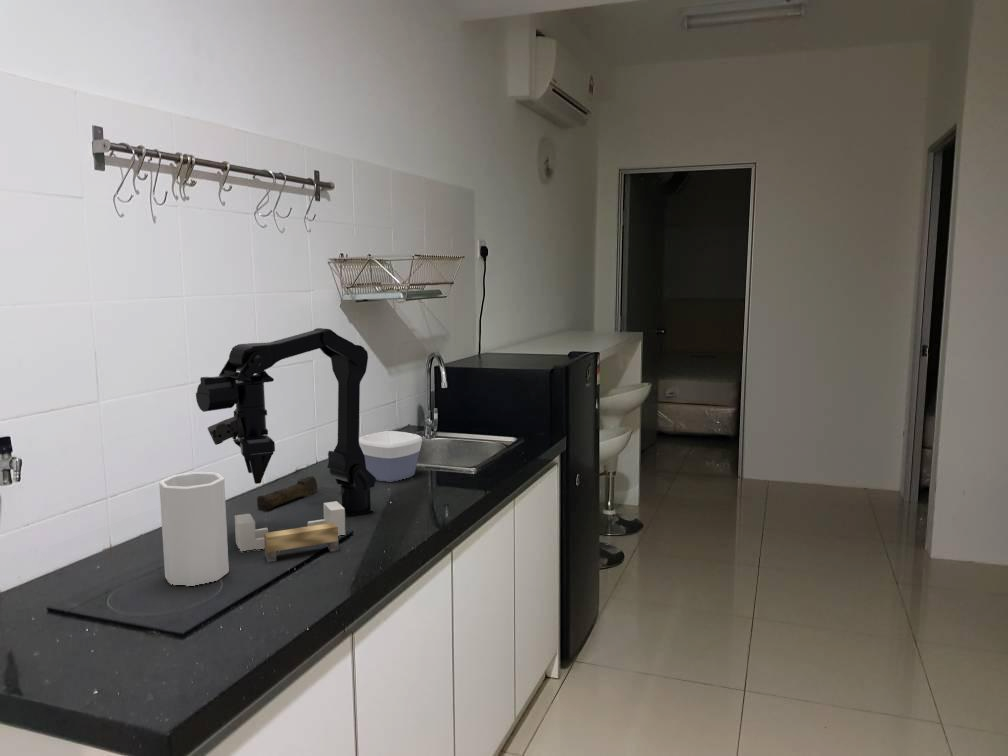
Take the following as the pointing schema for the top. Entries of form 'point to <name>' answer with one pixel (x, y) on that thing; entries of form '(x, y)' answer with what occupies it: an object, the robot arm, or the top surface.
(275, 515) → the top surface
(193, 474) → the cup
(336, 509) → the stepped white cradle
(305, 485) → the brown wooden log
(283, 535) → the rail
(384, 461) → the bowl
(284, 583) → the top surface
